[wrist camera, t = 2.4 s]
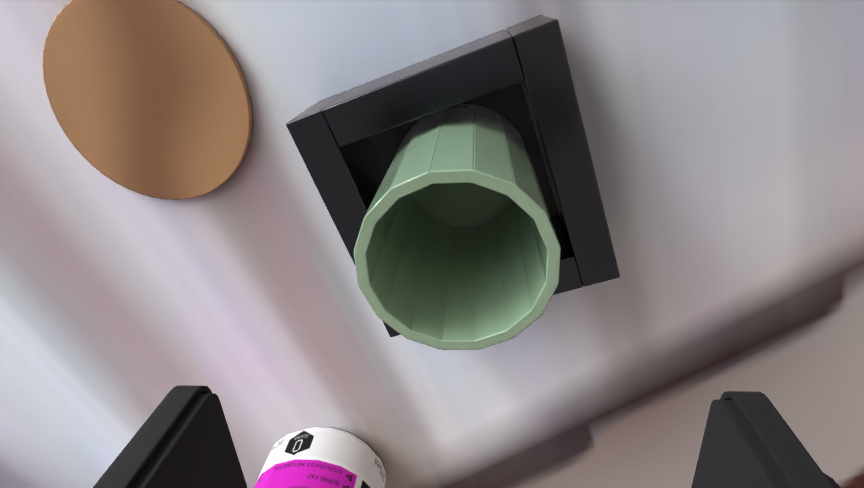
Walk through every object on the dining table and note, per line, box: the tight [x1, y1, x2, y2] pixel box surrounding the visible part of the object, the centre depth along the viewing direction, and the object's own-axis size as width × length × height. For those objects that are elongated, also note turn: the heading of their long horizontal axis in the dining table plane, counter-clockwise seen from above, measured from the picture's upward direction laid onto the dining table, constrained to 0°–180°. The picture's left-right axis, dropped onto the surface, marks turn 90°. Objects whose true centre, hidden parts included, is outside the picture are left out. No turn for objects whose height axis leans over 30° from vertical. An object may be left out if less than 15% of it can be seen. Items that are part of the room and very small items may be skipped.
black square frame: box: [286, 15, 620, 337], centre depth 22 cm, size 11×11×5 cm
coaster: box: [43, 0, 252, 200], centre depth 24 cm, size 10×10×1 cm
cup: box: [354, 104, 561, 350], centre depth 20 cm, size 6×6×10 cm
